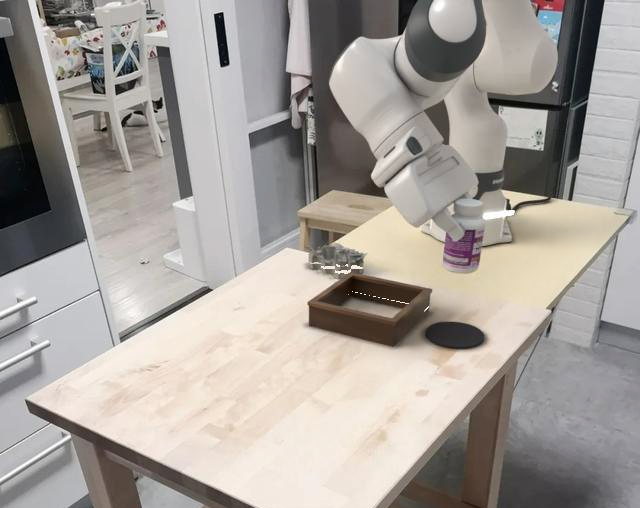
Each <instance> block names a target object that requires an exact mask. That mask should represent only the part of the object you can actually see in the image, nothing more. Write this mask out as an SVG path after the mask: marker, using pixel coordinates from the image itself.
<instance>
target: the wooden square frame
mask: <svg viewBox="0 0 640 508" xmlns="http://www.w3.org/2000/svg"><path fill="white" fill-rule="evenodd" d="M352 291H353V292H352ZM355 292H358V293H355ZM360 293H362V294H360ZM432 293H433V288H430V287H424V286H420V285H415V284H410V283H406V282H401V281H395V280H392V279H386V278H382V277H376V276H371V275H367V274H363V273H353V272H350V273H348V274H347V275H346V276H344V277H343V278H340V279H338V280H336V281H335V282H334V283H332V284H331V285H330V286H328V287H327V288H325V289H323V290H322V291H321V292H320V293H318V294H317V295H315V296H314V297H312V298H310V300H308V301H307V306H308V326H309V327H312V328H317V329H321V330H324V331H329V332H333V333H336V334H340V335H344V336H347V337H353V338H357V339H360V340H364V341H368V342H373V343H376V344H381V345H385V346H389V347H395V346H396V345H397V344H398V343H399V342H400V341H401V340H402V339H403V338H404V337H405V336H406V335H407V334H408V333H409V332H410V331H411V330H412V329H413V328H414V327H415V326H416V325H417V324H418V323H420V321H421V320H422V319H424V318H425V316H426V315H428V314H429V313H430V304H431V294H432ZM348 294H349V295H348ZM364 294H366V295H364ZM369 295H370V296H369ZM373 296H376V297H373ZM378 297H380V298H378ZM351 298H354V299H359V300H363V301H367V302H372V303H377V304H381V305H387V306H388V307H389V306H390V307H395V308H399V309H401V310H399V311H398V312H397V313H396V314H394V316H393V317H388V316H384V315H380V314H374V313H371V312H366V311H361V310H357V309H353V308H349V307H344V306H343V305H344V304H345V303H346V302H348V301H349V300H350V299H351ZM382 298H386V299H382ZM387 299H389V300H387ZM391 300H395V301H391ZM396 301H400V302H405V303H409V304H405V303H400V302H396ZM428 306H429V308H428V309H427V310H426V311H425V312H424V310H425V309H426V308H427V307H428Z"/></svg>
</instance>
